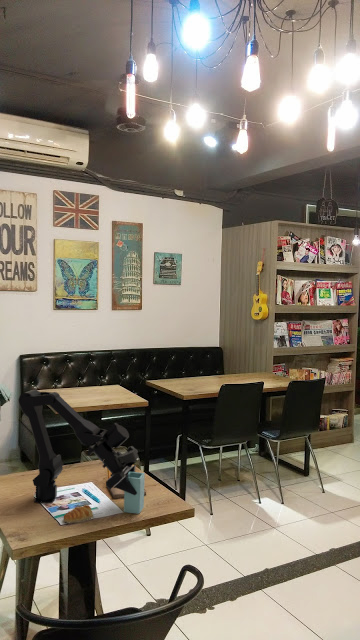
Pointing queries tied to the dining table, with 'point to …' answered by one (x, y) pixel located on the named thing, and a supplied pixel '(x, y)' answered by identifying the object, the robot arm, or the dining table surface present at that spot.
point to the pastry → (78, 515)
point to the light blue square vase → (136, 501)
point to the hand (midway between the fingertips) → (138, 490)
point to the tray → (119, 493)
